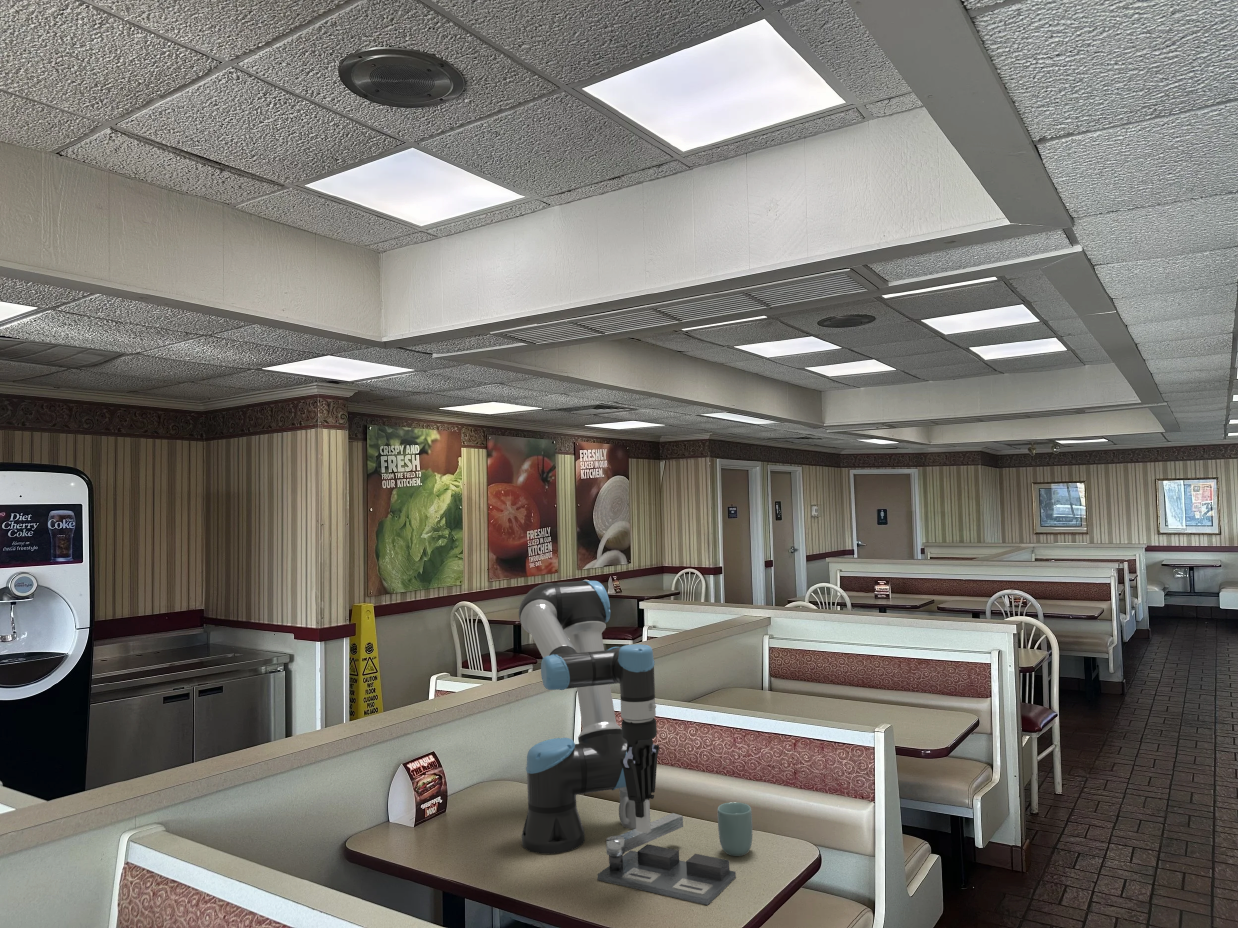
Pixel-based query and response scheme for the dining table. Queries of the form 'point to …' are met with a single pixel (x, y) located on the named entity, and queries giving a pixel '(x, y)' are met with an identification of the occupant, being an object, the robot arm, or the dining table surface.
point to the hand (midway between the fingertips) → (643, 830)
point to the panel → (670, 873)
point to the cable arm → (643, 835)
